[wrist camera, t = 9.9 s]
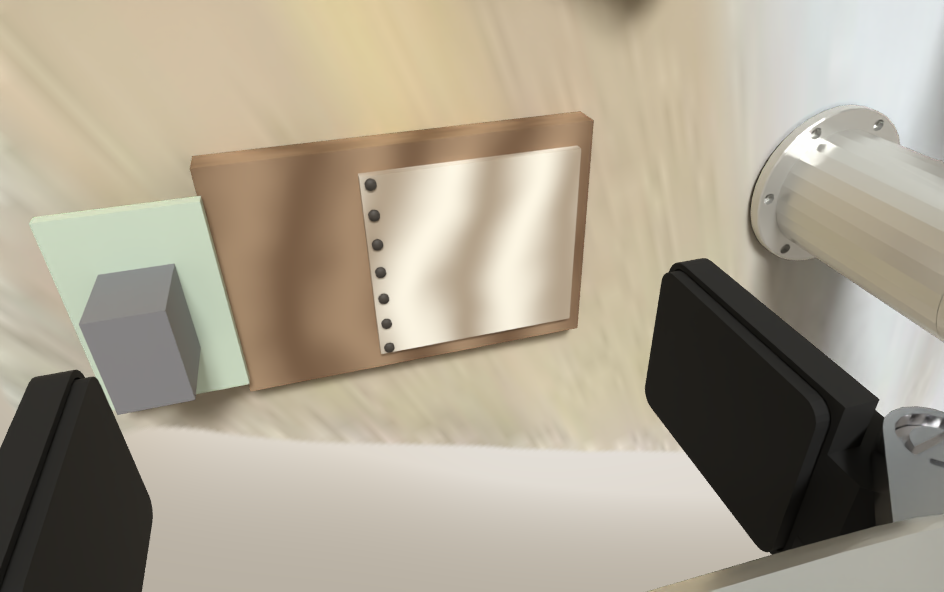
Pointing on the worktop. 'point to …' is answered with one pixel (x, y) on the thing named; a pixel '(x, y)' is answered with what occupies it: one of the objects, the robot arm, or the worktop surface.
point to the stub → (145, 300)
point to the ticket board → (399, 242)
